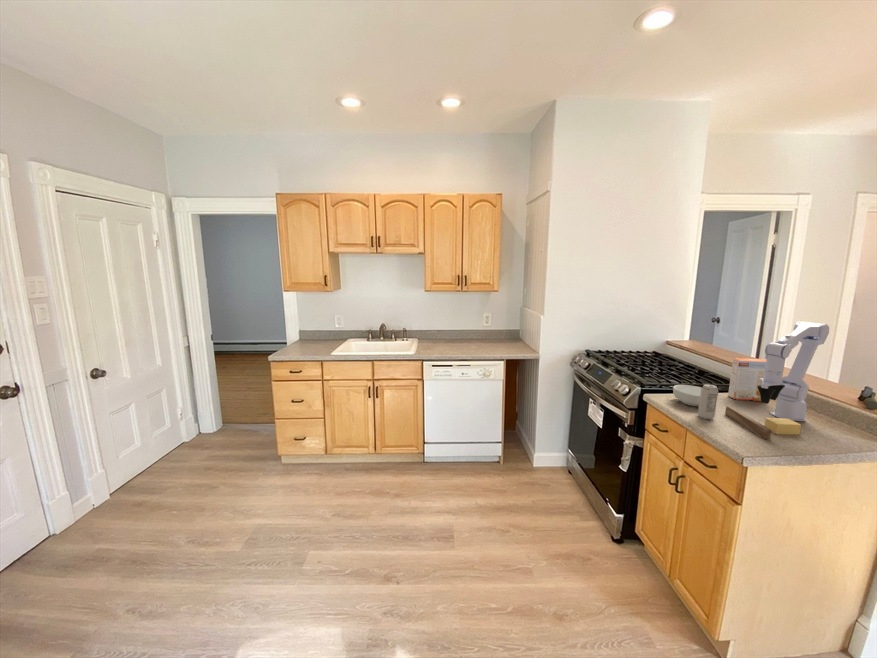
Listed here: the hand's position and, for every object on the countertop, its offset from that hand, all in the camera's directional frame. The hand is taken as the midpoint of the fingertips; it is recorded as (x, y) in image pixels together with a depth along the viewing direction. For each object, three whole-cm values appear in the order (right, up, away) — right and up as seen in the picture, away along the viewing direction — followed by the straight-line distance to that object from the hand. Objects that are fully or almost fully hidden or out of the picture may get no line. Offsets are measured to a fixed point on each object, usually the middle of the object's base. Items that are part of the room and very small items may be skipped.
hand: (768, 401), depth 154 cm
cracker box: (+16, -5, +30) cm, 34 cm away
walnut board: (-10, -10, -1) cm, 15 cm away
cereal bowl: (-16, -6, +24) cm, 30 cm away
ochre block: (+1, -12, -5) cm, 13 cm away
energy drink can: (-21, -9, +8) cm, 24 cm away
